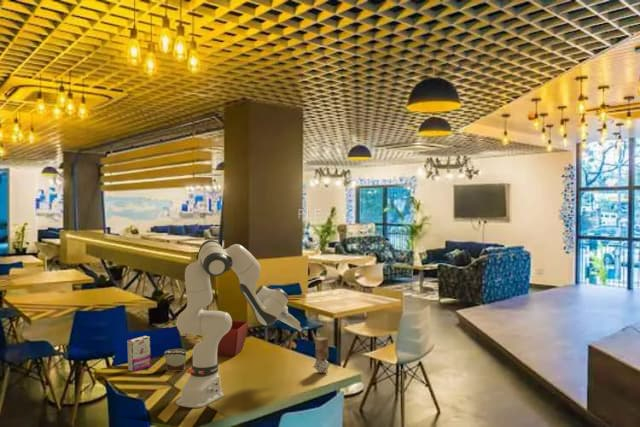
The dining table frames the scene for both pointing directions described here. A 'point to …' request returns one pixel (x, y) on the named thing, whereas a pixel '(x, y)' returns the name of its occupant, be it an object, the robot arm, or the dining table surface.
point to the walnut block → (321, 348)
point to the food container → (175, 359)
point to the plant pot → (233, 339)
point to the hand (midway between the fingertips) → (297, 328)
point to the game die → (321, 365)
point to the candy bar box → (139, 353)
